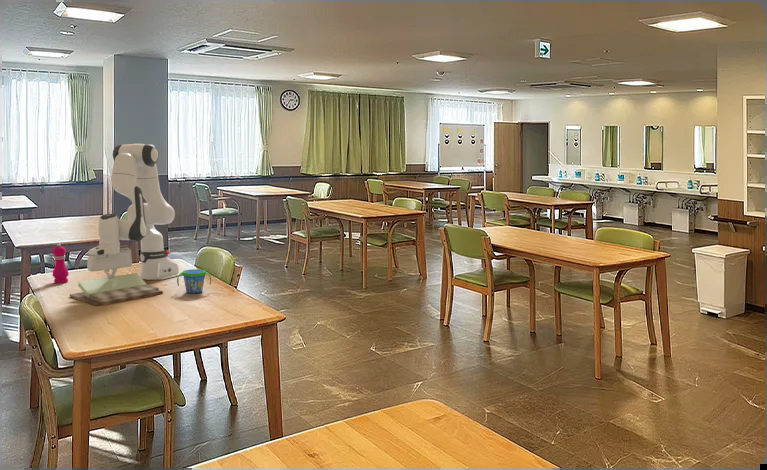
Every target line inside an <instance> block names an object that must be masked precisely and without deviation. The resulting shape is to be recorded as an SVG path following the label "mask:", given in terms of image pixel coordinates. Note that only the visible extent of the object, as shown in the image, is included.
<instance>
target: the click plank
mask: <svg viewBox="0 0 767 470" xmlns="http://www.w3.org/2000/svg"><path fill="white" fill-rule="evenodd" d="M142 285H148V284H147V282H145V280H144V279H141V277H140V274H138V273H137V272H135V273H134V272H133V273H130V274H129V273H128V274H127V273H126V274H123V275H115V278H113V279H107V277H103V278H95V279H89V280H83V281H79V282H78V287H79V289H80V290H81V292H84V293H85V295H86V296H87V297H88V298H89V294H95V293H101V292H107V291H113V290H118V289H124V288H130V287H136V286H142Z"/></svg>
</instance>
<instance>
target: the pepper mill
mask: <svg viewBox="0 0 767 470" xmlns="http://www.w3.org/2000/svg"><path fill="white" fill-rule="evenodd" d="M66 253H67V250H66V247H65V246H62V244H61V243H59V242H58V243H56V246H55V247H53V248H52V254H53V255H54V256H53V258H54V262H55V263H54V268H53V270H52V277H53V278H54V279H53V283H54V282H55V283H54V284H56V283H62V284H66V283H65V282H67V283H69V278H68V276H69V270H68V268H67V266H66V263H65V259H66V255H65V254H66Z"/></svg>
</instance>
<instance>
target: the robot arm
mask: <svg viewBox="0 0 767 470" xmlns="http://www.w3.org/2000/svg"><path fill="white" fill-rule="evenodd" d="M112 158H113V166H112V171H111V179H110V180H111V181H110V182H111V183H110V184H111V187H112V189H113V190H114V191H115V192H116V193H118V194H119V195H122V196H123V197H126V198H128V199H129V200H130V202H131V205H129V206H128V208H127V210H126V217H127V218H128V219H121V218H118V215H117V213H116V214H114V213H107V214H102V215H101V216H99V219H98V227H97V228H98V230H97V231H98V236H99V242H98V245H97V246H95V247H92V248H90V249H88V257H87V261H86V262H87V263H86V265H87V267H86V268H87V270H88V271H89V272H91V273H93V272H100V271H104V273H105V275H106V278H107V279H113V278H115V276H116V273H117V272H118V269H123V268H129V267H130V268H131V267H132V265H133V259H132V249H131V248H129V247H121V243H120V241H133V242H140V254H139V255H140V257H139V258H140V271H139V276H140V277H141V279H142V280H148V281H149V280H151V281H152V280H166V279H172V278H176V277H178V275H179V274H180V273H182V272H183V271H181V270H180V269H179V268H180V267H179V265H178V263H177V262H176V261H175V260H173V259H171V258H170V257H169V256H168V255H171V253H172V252H171V251H170V250H165V249H164V237H163V234H162V233H161V232H160V231H158V229H156V227H155V225H156V226H157V225H161V226H163V225H170V224H171V223H172V222H173V221H174V219H175V217H176V211H175V209H174V207H173V206H171V205H170V204H169V203H168V202H167V201H166V200H165V198H164V196H163V195H162V190H161V187H160V179H159V172H158V166H157V162H158V160H159V151H158V148H157V147H156V146H155V145H154V144H149V143H146V144H145V143H127V144H124V143H123V144H118V145H116V146H115V147H114V149H113V150H112ZM144 200H145V201H146V202H144ZM110 270H111V271H112V273H111V274H110V273H109V272H110ZM180 276H183V275H182V274H181V275H180ZM180 276H179V277H180Z"/></svg>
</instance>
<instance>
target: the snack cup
mask: <svg viewBox="0 0 767 470" xmlns="http://www.w3.org/2000/svg"><path fill="white" fill-rule="evenodd" d="M181 272H182V273H180V274H179V275H178V276H177V279H176V282H177V283H176V284H177V286H180V283H179V280H180V279H179V277H180V275H181V274H182V275H181V276H183V281H184V282H183V283H184V287H185V291H186V293H187V294H199V293H202V292H203V291H204V290H203V289H204V284H205V283H204V282H205V279H206V278H205V277H206V275H208V277H209V285H212V284H211V283H212V276H211V274H210V273H209V272H208V271H206V270H205V269H198V268H197V269H185V270H182V271H181Z"/></svg>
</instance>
